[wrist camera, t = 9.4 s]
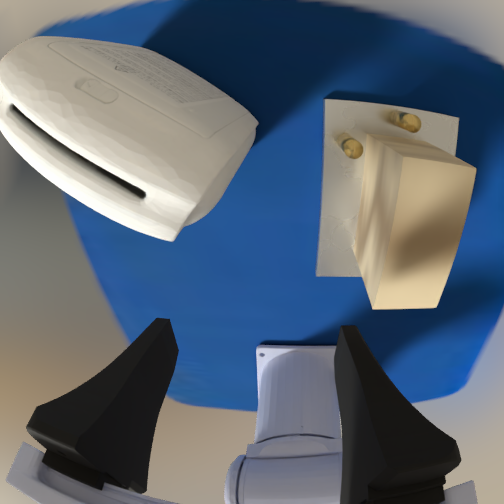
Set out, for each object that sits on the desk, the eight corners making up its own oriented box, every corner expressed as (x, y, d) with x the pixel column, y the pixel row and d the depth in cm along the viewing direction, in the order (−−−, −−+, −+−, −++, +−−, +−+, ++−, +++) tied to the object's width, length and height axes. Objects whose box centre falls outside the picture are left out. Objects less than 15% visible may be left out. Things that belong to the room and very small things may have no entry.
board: (405, 252, 20) (436, 307, 15) (353, 251, 20) (372, 309, 15) (425, 141, 16) (476, 168, 10) (366, 133, 16) (403, 156, 11)
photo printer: (107, 94, 17) (-45, 135, 6) (139, 39, 15) (-15, 23, 4) (230, 174, 19) (162, 299, 8) (270, 121, 17) (249, 182, 6)
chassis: (424, 270, 21) (439, 295, 18) (315, 269, 22) (318, 297, 19) (453, 116, 15) (478, 124, 12) (323, 98, 16) (331, 100, 13)
